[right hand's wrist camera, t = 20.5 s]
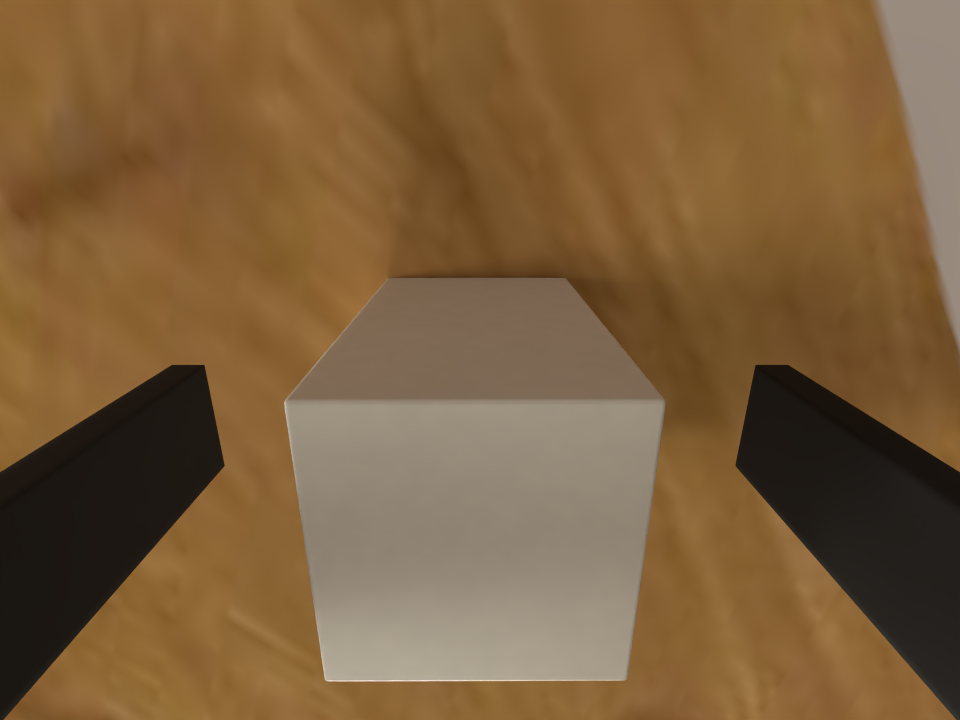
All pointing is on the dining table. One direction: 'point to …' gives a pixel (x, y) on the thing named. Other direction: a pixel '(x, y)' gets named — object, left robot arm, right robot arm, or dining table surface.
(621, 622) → the block
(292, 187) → the dining table surface
